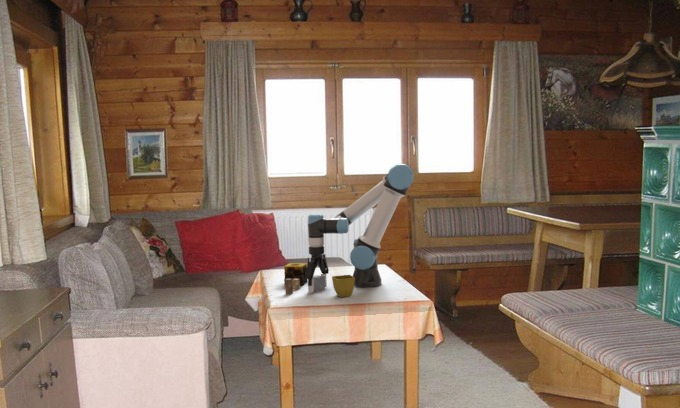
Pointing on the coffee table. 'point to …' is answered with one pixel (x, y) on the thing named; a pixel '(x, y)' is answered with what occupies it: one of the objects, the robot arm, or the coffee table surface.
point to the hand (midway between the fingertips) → (317, 289)
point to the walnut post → (289, 286)
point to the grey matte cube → (319, 283)
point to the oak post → (296, 284)
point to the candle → (296, 272)
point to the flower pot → (343, 285)
